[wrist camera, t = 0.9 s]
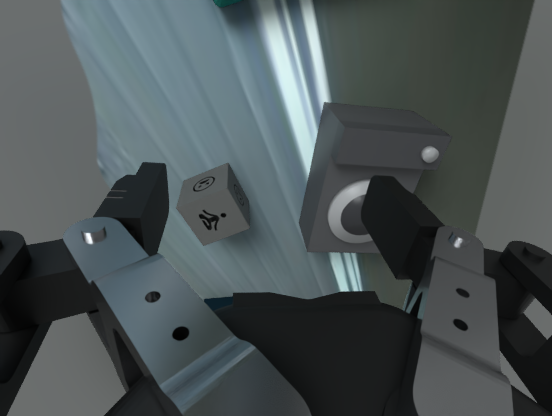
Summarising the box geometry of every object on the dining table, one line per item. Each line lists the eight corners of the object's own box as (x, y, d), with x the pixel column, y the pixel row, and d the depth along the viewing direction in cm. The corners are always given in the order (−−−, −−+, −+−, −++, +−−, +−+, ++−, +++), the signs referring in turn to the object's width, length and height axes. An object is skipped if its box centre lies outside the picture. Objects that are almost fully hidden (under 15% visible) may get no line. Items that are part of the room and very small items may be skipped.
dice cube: (183, 180, 32) (176, 207, 28) (228, 162, 31) (227, 187, 27) (207, 216, 35) (203, 245, 31) (248, 200, 34) (250, 228, 30)
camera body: (324, 102, 29) (347, 130, 23) (413, 111, 30) (456, 139, 24) (299, 222, 36) (311, 267, 31) (370, 225, 38) (395, 267, 32)
